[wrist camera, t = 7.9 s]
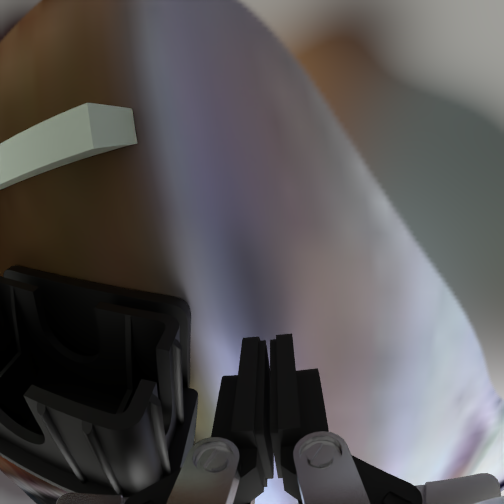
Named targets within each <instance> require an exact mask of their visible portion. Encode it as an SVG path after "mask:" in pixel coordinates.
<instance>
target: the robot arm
mask: <svg viewBox="0 0 504 504" xmlns="http://www.w3.org/2000/svg"><path fill="white" fill-rule="evenodd" d="M274 457H275V462H276V468H277V474H278V478H283V483H284V490H285V491H286V492H287V493H289V494H290V495H292V496H293V497H294V498H296V499H297V504H504V496H501V492H500V485H499V482H498V480H497V479H496V478H495V477H494V476H493V475H491V474H488V473H480V474H476V475H471V476H466V477H460V478H454V479H448V480H441V481H434V482H426V483H425V485H418V486H414V485H412V484H411V483H408V482H406V481H404V480H402V479H399V478H397V477H395V476H393V475H391V474H388V473H386V472H384V471H382V470H380V469H378V468H376V467H374V466H372V465H370V464H368V463H366V462H364V461H362V460H360V459H358V458H356V457H354V456H352V455H351V453H350V451H349V448H348V446H347V444H346V442H345V441H344V439H343V438H341V437H340V436H339V435H337V434H334V433H332V432H329V430H328V424H327V418H326V412H325V406H324V400H323V394H322V388H321V382H320V377H319V371H318V368H317V369H309V370H300V371H296V369H295V359H294V348H293V338H292V334H283V335H276V339H274V340H270V367H269V360H268V353H267V346H266V341H265V340H263V341H260V338H259V337H248V338H243V340H242V347H241V355H240V363H239V371H238V375H234V376H223V377H222V380H221V386H220V391H219V396H218V402H217V407H216V413H215V418H214V424H213V429H212V435H211V438H207V439H203V440H201V441H199V442H197V443H196V444H195V445H194V446H192V448H191V449H190V451H189V452H188V454H187V457H186V459H185V461H184V464H183V466H182V467H181V468H180V469H178V470H176V471H175V472H173V473H171V474H170V475H168V476H166V477H165V478H163V479H161V480H159V481H157V482H156V483H154V484H152V485H150V486H148V487H147V488H145V489H143V490H141V491H139V492H137V493H135V494H133V495H132V496H131V497H122V496H121V495H101V494H85V493H74V492H71V493H66V494H64V495H62V496H61V497H60V498H59V499H58V501H57V503H56V504H254V503H255V498H256V497H257V496H259V495H260V494H261V493H263V492H264V487H267V479H272V478H273V475H274Z"/></svg>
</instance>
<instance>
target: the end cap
mask: <svg viewBox="0 0 504 504" xmlns="http://www.w3.org/2000/svg"><path fill="white" fill-rule="evenodd" d="M190 330H191V312H190V308H189V306H188V305H187V303H186V302H185V301H184V300H182V299H179V298H177V297H172V296H166V295H160V294H154V293H148V292H142V291H137V290H131V289H125V288H120V287H115V286H109V285H104V284H99V283H94V282H89V281H84V280H79V279H74V278H70V277H65V276H60V275H56V274H51V273H47V272H42V271H38V270H34V269H29V268H25V267H21V266H17V265H15V266H11V267H10V268H8V269H7V270H5V272H4V277H2V276H0V456H2V457H4V458H5V459H7V460H8V461H10V462H12V463H13V464H15V465H17V466H18V467H20V468H22V469H24V470H25V471H27V472H29V473H31V474H33V475H35V476H36V477H38V478H40V479H42V480H44V481H46V482H48V483H50V484H52V485H54V486H56V487H58V488H61V489H63V490H65V491H67V492H69V493H71V492H74V493H85V494H101V495H121V496H122V497H131V496H132V495H133V494H135V493H137V492H139V491H141V490H143V489H145V488H147V487H148V486H150V485H152V484H154V483H156V482H157V481H159V480H161V479H163V478H165V477H166V476H168V475H170V474H171V473H173V472H175V471H176V470H178V469H180V468H181V467H182V466H183V464H184V461H185V459H186V457H187V454H188V452H189V451H190V449H191V448H192V446H193V444H194V436H195V428H196V418H197V404H198V393H197V391H196V390H194V389H191V388H189V387H190Z"/></svg>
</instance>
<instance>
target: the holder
mask: <svg viewBox="0 0 504 504" xmlns="http://www.w3.org/2000/svg"><path fill="white" fill-rule="evenodd" d="M133 144H137V138H136V132H135V125H134V118H133V111H132V109H131V108H125V107H118V106H110V105H103V104H94V103H85V104H83V105H80V106H78V107H75V108H73V109H70V110H68V111H66V112H63V113H61V114H59V115H56V116H54V117H52V118H50V119H47V120H45V121H43V122H41V123H39V124H37V125H35V126H33V127H31V128H29V129H27V130H25V131H23V132H21V133H19V134H17V135H15V136H13V137H11V138H10V139H8V140H6V141H4V142H2V143H1V144H0V190H1V189H4V188H6V187H8V186H11V185H13V184H15V183H18V182H20V181H23V180H25V179H28V178H30V177H33V176H36V175H38V174H41V173H44V172H46V171H49V170H52V169H55V168H58V167H60V166H63V165H66V164H69V163H72V162H75V161H78V160H81V159H85V158H88V157H91V156H94V155H98V154H101V153H104V152H108V151H111V150H115V149H118V148H122V147H126V146H130V145H133Z"/></svg>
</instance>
